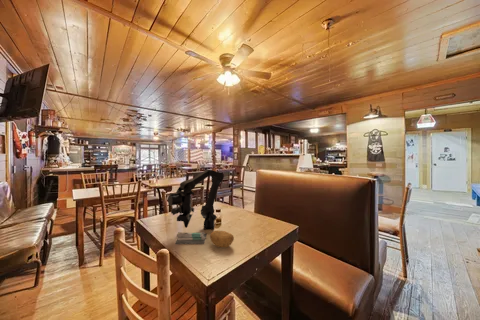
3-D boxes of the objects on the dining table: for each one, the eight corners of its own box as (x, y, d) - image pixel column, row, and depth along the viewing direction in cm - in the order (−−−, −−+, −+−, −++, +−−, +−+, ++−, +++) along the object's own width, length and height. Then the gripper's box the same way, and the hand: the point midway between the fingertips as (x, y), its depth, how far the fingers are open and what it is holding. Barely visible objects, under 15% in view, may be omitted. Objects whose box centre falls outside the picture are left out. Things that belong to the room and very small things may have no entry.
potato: (216, 239, 109) (216, 226, 109) (236, 245, 103) (237, 231, 102) (205, 247, 101) (205, 232, 100) (227, 253, 94) (227, 238, 94)
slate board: (207, 235, 115) (207, 231, 115) (204, 244, 104) (204, 240, 104) (181, 235, 114) (181, 231, 114) (175, 244, 103) (175, 240, 103)
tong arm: (204, 235, 108) (204, 231, 108) (204, 237, 106) (204, 233, 106) (178, 235, 108) (178, 231, 108) (177, 237, 106) (177, 233, 106)
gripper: (177, 198, 122) (177, 221, 123) (167, 206, 104) (167, 234, 104) (194, 198, 122) (194, 221, 123) (187, 206, 104) (187, 234, 104)
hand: (186, 227), depth 114 cm, fingers closed
